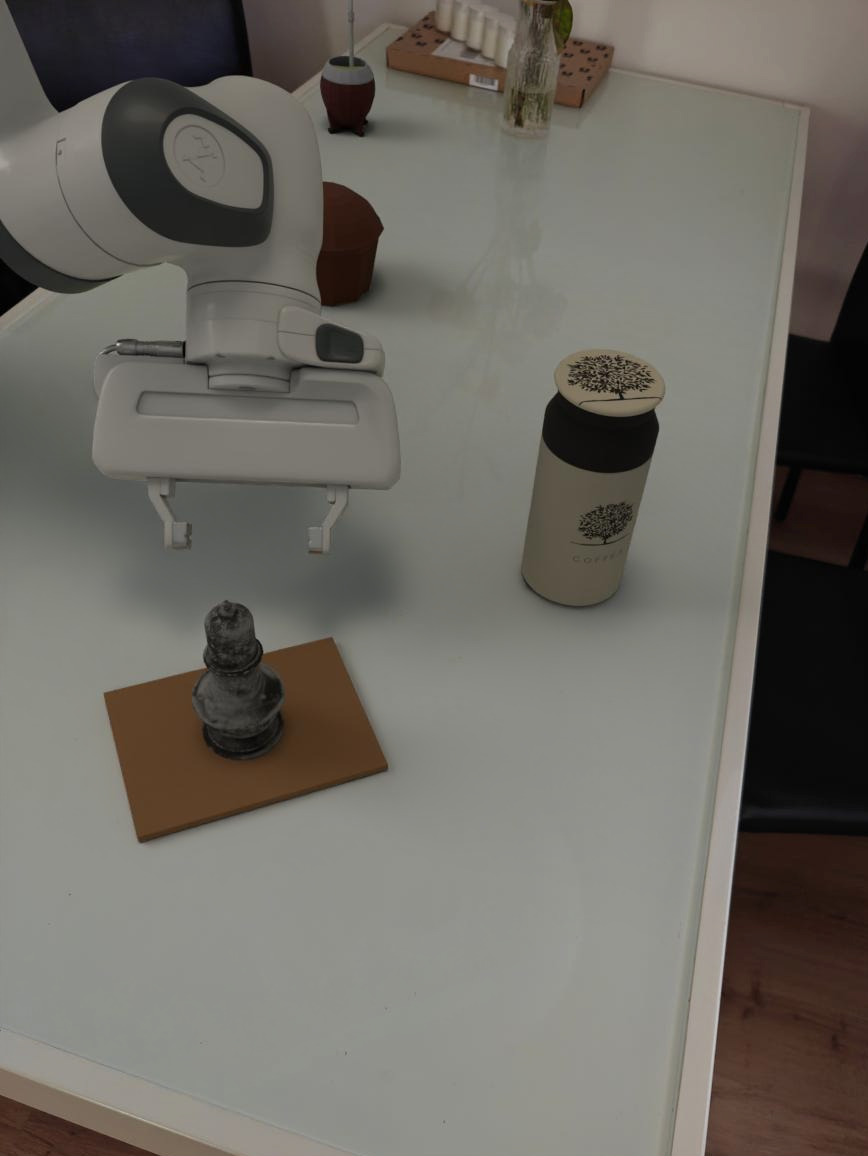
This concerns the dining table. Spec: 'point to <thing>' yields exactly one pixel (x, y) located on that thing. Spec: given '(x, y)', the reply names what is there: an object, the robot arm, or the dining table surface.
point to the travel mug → (590, 475)
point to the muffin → (346, 245)
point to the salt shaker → (237, 687)
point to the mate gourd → (347, 88)
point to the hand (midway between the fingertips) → (249, 552)
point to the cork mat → (227, 787)
